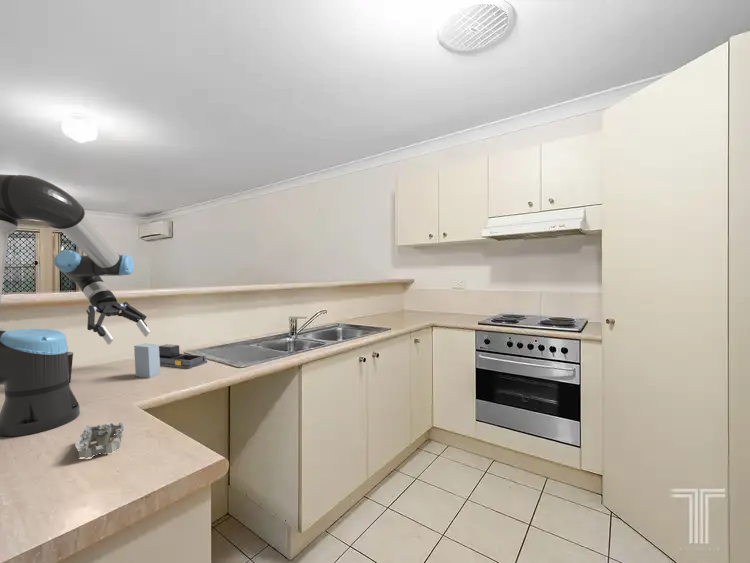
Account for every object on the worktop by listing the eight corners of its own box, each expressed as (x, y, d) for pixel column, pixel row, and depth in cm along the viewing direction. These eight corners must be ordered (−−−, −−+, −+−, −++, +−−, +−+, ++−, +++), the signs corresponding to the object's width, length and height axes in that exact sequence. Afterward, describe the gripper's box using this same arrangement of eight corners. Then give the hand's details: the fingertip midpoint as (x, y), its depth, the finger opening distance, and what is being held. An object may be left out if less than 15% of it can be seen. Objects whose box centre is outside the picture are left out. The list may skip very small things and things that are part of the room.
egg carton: (119, 454, 73) (118, 435, 72) (72, 465, 69) (71, 445, 69) (126, 433, 82) (125, 416, 82) (86, 441, 78) (85, 423, 78)
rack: (188, 368, 132) (187, 350, 132) (148, 364, 140) (148, 347, 139) (207, 362, 141) (206, 345, 140) (168, 358, 148) (168, 342, 148)
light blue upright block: (149, 378, 122) (148, 347, 121) (135, 376, 124) (134, 345, 124) (160, 374, 126) (158, 344, 125) (146, 372, 128) (145, 343, 128)
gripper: (128, 299, 145) (156, 337, 141) (57, 307, 122) (88, 352, 117) (137, 287, 143) (165, 325, 139) (66, 292, 120) (98, 338, 115)
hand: (130, 337), depth 128 cm, fingers open, 13 cm apart
